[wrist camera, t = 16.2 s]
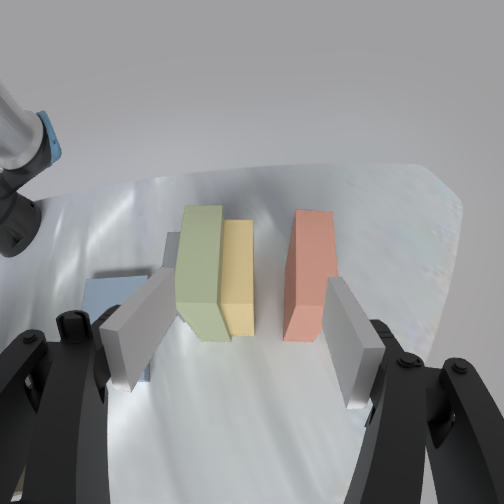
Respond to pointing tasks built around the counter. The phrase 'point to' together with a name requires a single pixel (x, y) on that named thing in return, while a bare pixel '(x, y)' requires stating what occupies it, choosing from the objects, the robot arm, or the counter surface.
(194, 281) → the row books
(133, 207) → the counter surface
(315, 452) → the counter surface
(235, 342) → the counter surface
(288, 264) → the terracotta book
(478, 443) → the robot arm
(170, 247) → the stone bookend
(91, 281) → the flat book
